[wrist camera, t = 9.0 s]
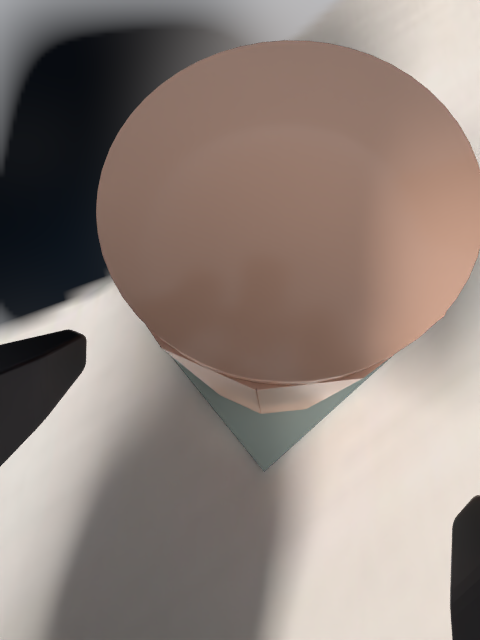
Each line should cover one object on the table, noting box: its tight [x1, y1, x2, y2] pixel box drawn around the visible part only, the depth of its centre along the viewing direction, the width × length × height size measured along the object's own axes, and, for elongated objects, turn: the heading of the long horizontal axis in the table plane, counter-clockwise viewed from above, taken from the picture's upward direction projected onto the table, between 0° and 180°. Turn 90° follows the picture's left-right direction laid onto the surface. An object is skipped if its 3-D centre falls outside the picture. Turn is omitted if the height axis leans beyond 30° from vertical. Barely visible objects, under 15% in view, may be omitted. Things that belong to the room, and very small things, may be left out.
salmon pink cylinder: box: [96, 40, 480, 414], centre depth 13 cm, size 8×8×11 cm
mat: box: [172, 357, 391, 472], centre depth 19 cm, size 9×9×1 cm
